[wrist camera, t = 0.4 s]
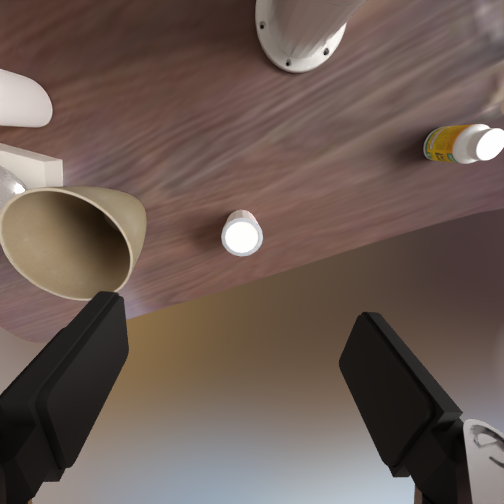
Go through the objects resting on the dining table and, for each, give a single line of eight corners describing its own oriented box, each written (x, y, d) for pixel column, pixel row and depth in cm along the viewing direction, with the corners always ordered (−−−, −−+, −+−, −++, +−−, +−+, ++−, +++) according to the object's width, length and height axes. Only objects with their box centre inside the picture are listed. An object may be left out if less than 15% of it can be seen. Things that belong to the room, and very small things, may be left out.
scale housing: (-28, 135, 36) (-57, 135, 32) (62, 159, 38) (44, 161, 34) (-12, 221, 42) (-35, 229, 38) (65, 238, 44) (50, 247, 40)
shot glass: (231, 245, 46) (230, 261, 40) (217, 213, 44) (214, 226, 37) (263, 233, 46) (268, 248, 40) (252, 201, 43) (255, 211, 37)
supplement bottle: (459, 131, 40) (521, 129, 31) (441, 164, 42) (493, 170, 34) (433, 122, 39) (489, 117, 30) (415, 155, 41) (463, 159, 33)
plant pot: (91, 153, 38) (3, 161, 24) (178, 196, 42) (149, 226, 27) (71, 230, 43) (-10, 274, 29) (151, 262, 47) (114, 315, 33)
